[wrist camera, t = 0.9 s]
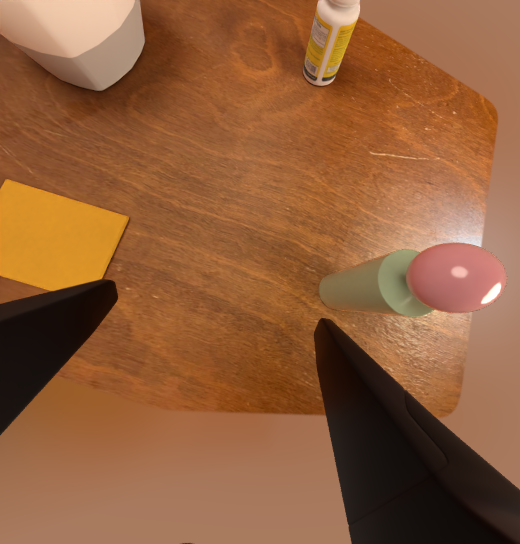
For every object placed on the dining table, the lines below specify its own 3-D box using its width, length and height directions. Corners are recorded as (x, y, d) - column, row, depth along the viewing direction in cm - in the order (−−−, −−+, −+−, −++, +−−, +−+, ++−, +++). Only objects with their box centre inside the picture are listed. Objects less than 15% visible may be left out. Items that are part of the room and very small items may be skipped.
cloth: (129, 217, 22) (127, 216, 21) (91, 302, 20) (88, 302, 19) (10, 180, 21) (6, 178, 21) (-39, 263, 20) (-45, 262, 19)
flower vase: (362, 298, 22) (562, 291, 8) (332, 317, 21) (491, 347, 7) (341, 265, 22) (497, 206, 8) (311, 284, 22) (425, 252, 8)
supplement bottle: (336, 64, 27) (375, -41, 19) (332, 90, 26) (372, -7, 18) (304, 56, 27) (329, -52, 19) (299, 83, 26) (324, -19, 18)
